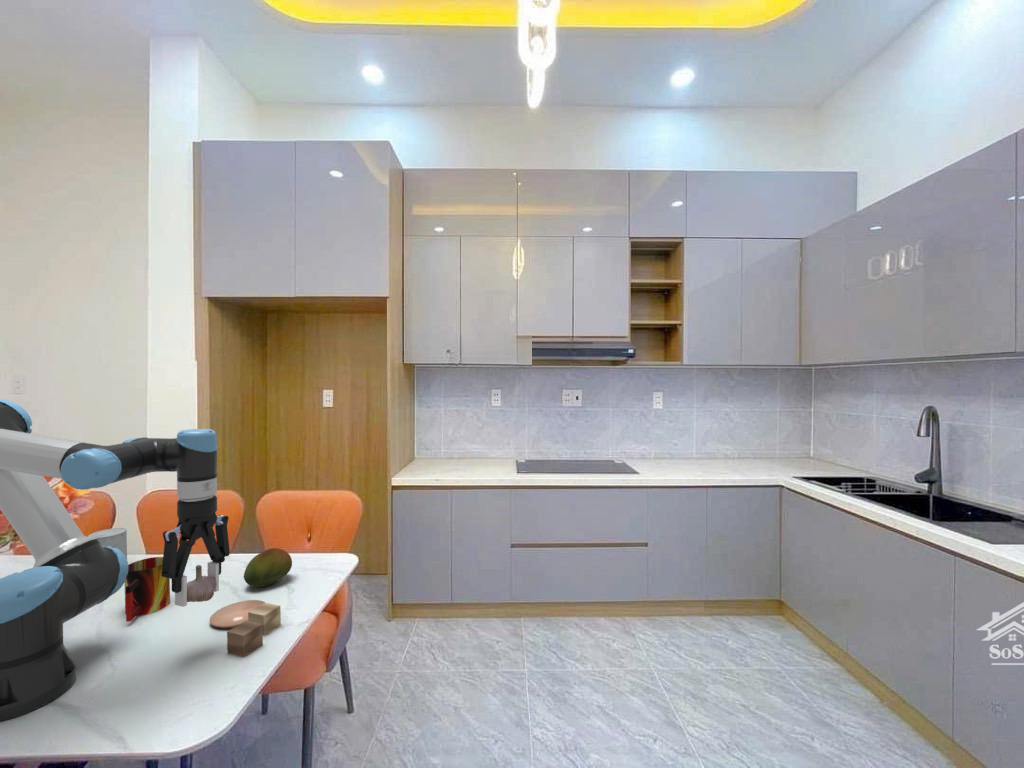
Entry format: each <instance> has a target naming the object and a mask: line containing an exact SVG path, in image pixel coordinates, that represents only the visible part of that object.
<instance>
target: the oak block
mask: <svg viewBox="0 0 1024 768" xmlns="http://www.w3.org/2000/svg"><path fill="white" fill-rule="evenodd" d="M281 611H282V610H281V605H279V604H274V603H269V602H265V603H264V604H262V605H260V606H258V607H257V608H255V609H253V610H251V611H249V612H248V621H251V622H255V623H260V624H262V629H263V636H264V637H265V635H267V634H269V633H271V632H272V631H273V630H275V629H277V628H278V627H280V626H281V625H282V624H281V622H282V621H281V620H282V619H281V618H282V617H281V615H282V613H281Z"/></svg>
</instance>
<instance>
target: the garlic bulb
mask: <svg viewBox="0 0 1024 768" xmlns="http://www.w3.org/2000/svg"><path fill="white" fill-rule="evenodd" d="M202 568H203V566H202V565H200V564H196V566H195V579H193V580H190V581H187V603H191V602H192V603H195V602H197V603H199V602H200V603H201V602H208V601H210V600H211V599H212V598H213V597H214V595H215V592H214V590H215V589H216V586H217V583H216V580H215V579H214V578H213V577H210V576H208V575H203V573H202V570H203V569H202Z"/></svg>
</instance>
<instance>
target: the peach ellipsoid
mask: <svg viewBox="0 0 1024 768" xmlns="http://www.w3.org/2000/svg"><path fill="white" fill-rule="evenodd" d="M264 603H266V602H265V601H263V600H258V599H257V600H256V599H249V600H242V601H241V600H240V601H237V602H233V603H231V604H228V605H225V606H223V607H221V608H219V609H218V610H216V611H215V612H214V613H213V614H211V616H210V617H209V623H210V625H211V626H213V627H215V628H220V629H232V628H234V627H236V626H238V625H239V624H241V623H243V622H245V621H246V620H247V621H248V612H249V611H251V610H253V609H255V608H257V607H258V606H260V605H262V604H264Z"/></svg>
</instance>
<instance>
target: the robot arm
mask: <svg viewBox="0 0 1024 768" xmlns="http://www.w3.org/2000/svg"><path fill="white" fill-rule="evenodd" d="M32 426H33V421H32V419H31V416H30V415H29V413H28V412H27V410H26V409H25V408H24V407H22V406H21V405H20V404H18V403H16V402H13V401H11V400H7V399H2V398H1V399H0V511H1V512H2V514H3V515H4V517H5V518H6V519H7V521H8V522H9V524H10V525H11V527H12V528H13V530H14V531H15V533H16V534H17V535H18V537H19V538H20V540H21V541H22V543H23V544H24V547H26V549H27V550H28V552H29V553H30V554H31V557H33V559H34V560H35V561H34V565H33V567H31V568H27V569H24V570H22V571H20V572H13V573H11V574H8V575H6V576H3V577H0V722H2V721H5V720H9V719H13V718H15V717H19V716H22V715H24V714H27V713H29V712H31V711H33V710H36V709H39V708H40V707H43V706H45V705H46V704H48V703H50V702H52V701H54V700H55V699H57V698H59V697H60V696H62V695H63V694H64V693H65V692H66V691H69V690H70V688H71V687H72V686H73V685H74V683H75V682H76V679H77V668H76V665H75V662H74V661H73V659H72V657H71V655H70V653H69V651H68V650H67V648H66V646H65V644H64V643H65V642H64V624H65V623H67V622H68V621H70V620H72V619H74V618H75V617H77V616H79V615H81V614H82V613H84V612H86V611H87V610H89V609H91V608H93V607H95V606H97V605H99V604H102V603H103V602H104V601H106V600H108V599H109V598H110V597H111V596H113V595H114V594H116V593H117V592H119V590H120V589H122V587H123V586H124V585H125V581H126V576H127V574H128V565H129V563H128V562H129V561H128V558H127V559H126V557H125V555H124V554H123V553H122V552H121V551H120V550H119V549H117V548H113V547H111V546H102V545H101V544H100V542H99V541H98V540H97V538H95V537H88V536H87V535H84V533H83V532H82V531H81V529H80V528H79V526H78V524H77V523H76V522H75V520H74V519H73V517H72V516H71V514H70V513H69V511H68V510H67V508H66V507H65V506H64V504H63V502H62V501H61V499H60V498H59V497H58V495H57V494H56V493H55V491H54V489H53V487H51V485H50V484H49V482H48V480H46V478H45V477H48V478H54V479H59V480H63V481H64V483H65V484H66V485H69V486H70V487H71V488H72V489H75V490H81V491H82V490H90V489H98V488H103V487H106V486H107V485H110V484H114V483H117V482H121V481H124V480H127V479H132V478H135V477H139V476H142V475H147V474H150V473H154V472H155V473H159V472H162V473H164V472H165V473H166V472H168V473H169V472H170V473H171V472H172V473H173V472H174V473H175V472H176V477H177V478H176V498H177V499H178V501H176V510H177V511H176V515H177V518H178V521H177V524H176V527H175V528H172V529H170V530H169V531H168V530H165V531H163V533H162V537H163V541H164V547H163V555H162V557H163V563H162V573H161V576H162V577H165V578H169V579H170V580H171V591H172V593H174V606H179V607H183V608H185V607H186V606H187V605H188V602H187V583H188V576H187V575H185V574H184V573H185V571H186V567H187V564H188V561H189V557H190V554H191V551H192V548H193V546H195V544H196V541H197V540H200V539H202V540H203V544H204V545H205V548H206V551H207V553H208V555H209V558H210V560H211V561H208V562H207V576H210V577H213V578H214V579H215V580H216V583H217V586H216V589H215V590H214V593H216V592H218V591H219V590H220V588H219V587H220V578H219V577H220V575H221V574H222V563H224V562H225V560H226V558H227V557H229V555H230V554H231V552H230V543H229V542H230V541H229V532H228V523H229V516H228V515H224V514H223V515H222V514H218V515H217V511H218V497H217V495H216V494H217V493H218V473H217V471H218V470H217V468H218V450H219V447H218V439H217V432H216V431H215V430H214V429H211V428H189V429H182V430H179V431H178V432H177V434H176V437H175V438H174V437H173V438H166V437H165V438H163V437H162V438H157V437H156V438H155V437H146V436H145V437H144V436H143V437H137V438H128V439H125V440H124V441H123V442H121V443H116V444H111V445H100V444H94V443H88V442H83V441H80V440H79V441H77V440H72V439H68V438H67V439H66V438H60V437H55V436H54V437H53V436H47V435H41V434H34V433H32V431H33V429H32V428H31V427H32ZM213 527H214V528H213ZM214 529H215V530H214ZM178 539H179V540H178Z"/></svg>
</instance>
